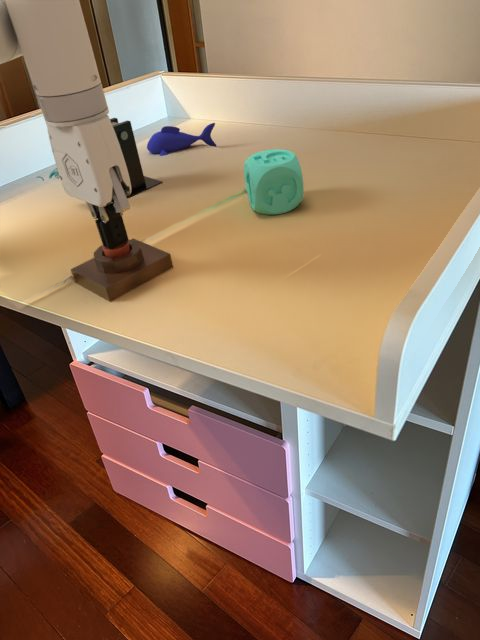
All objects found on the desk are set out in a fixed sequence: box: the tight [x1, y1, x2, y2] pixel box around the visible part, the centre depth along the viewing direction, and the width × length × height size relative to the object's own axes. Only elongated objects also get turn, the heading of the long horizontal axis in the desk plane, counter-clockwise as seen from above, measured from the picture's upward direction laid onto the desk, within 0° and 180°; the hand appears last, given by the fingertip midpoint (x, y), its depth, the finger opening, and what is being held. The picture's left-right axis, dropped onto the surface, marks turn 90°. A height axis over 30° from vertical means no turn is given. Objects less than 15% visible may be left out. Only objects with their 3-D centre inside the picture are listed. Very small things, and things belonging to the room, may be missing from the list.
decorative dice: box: [243, 148, 305, 216], centre depth 92 cm, size 8×8×8 cm
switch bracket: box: [110, 117, 164, 200], centre depth 102 cm, size 10×8×13 cm
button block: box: [70, 237, 174, 303], centre depth 80 cm, size 11×9×4 cm
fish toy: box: [146, 122, 217, 157], centre depth 118 cm, size 15×8×7 cm, turn 100°
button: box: [101, 241, 131, 258], centre depth 78 cm, size 4×4×2 cm
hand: (116, 243), depth 78 cm, fingers closed
